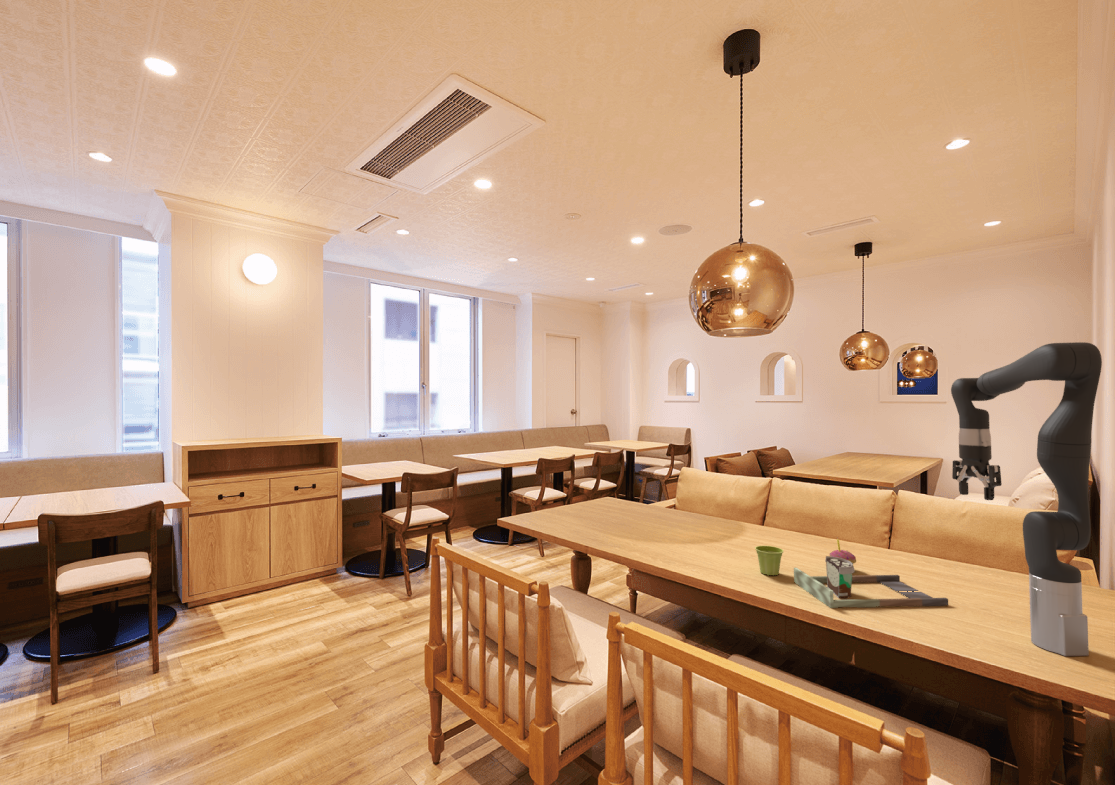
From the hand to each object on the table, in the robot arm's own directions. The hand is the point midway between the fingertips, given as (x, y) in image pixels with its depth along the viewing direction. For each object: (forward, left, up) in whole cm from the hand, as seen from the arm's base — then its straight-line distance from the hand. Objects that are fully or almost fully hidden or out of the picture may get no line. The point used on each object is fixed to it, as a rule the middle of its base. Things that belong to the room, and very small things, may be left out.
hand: (976, 497), depth 149 cm
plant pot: (+30, +50, -32) cm, 67 cm away
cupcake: (+32, +22, -32) cm, 51 cm away
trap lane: (+10, +28, -32) cm, 44 cm away
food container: (+11, +35, -32) cm, 49 cm away
